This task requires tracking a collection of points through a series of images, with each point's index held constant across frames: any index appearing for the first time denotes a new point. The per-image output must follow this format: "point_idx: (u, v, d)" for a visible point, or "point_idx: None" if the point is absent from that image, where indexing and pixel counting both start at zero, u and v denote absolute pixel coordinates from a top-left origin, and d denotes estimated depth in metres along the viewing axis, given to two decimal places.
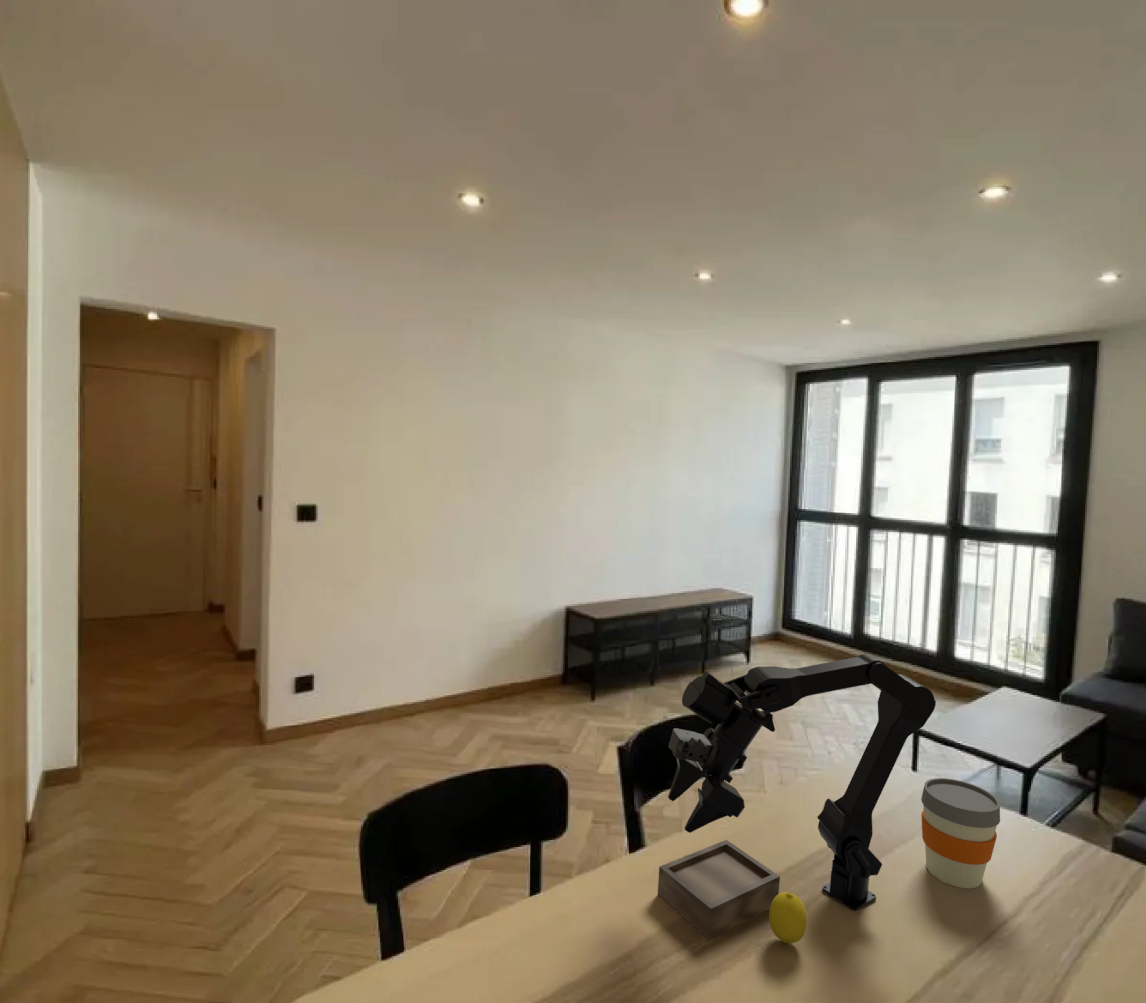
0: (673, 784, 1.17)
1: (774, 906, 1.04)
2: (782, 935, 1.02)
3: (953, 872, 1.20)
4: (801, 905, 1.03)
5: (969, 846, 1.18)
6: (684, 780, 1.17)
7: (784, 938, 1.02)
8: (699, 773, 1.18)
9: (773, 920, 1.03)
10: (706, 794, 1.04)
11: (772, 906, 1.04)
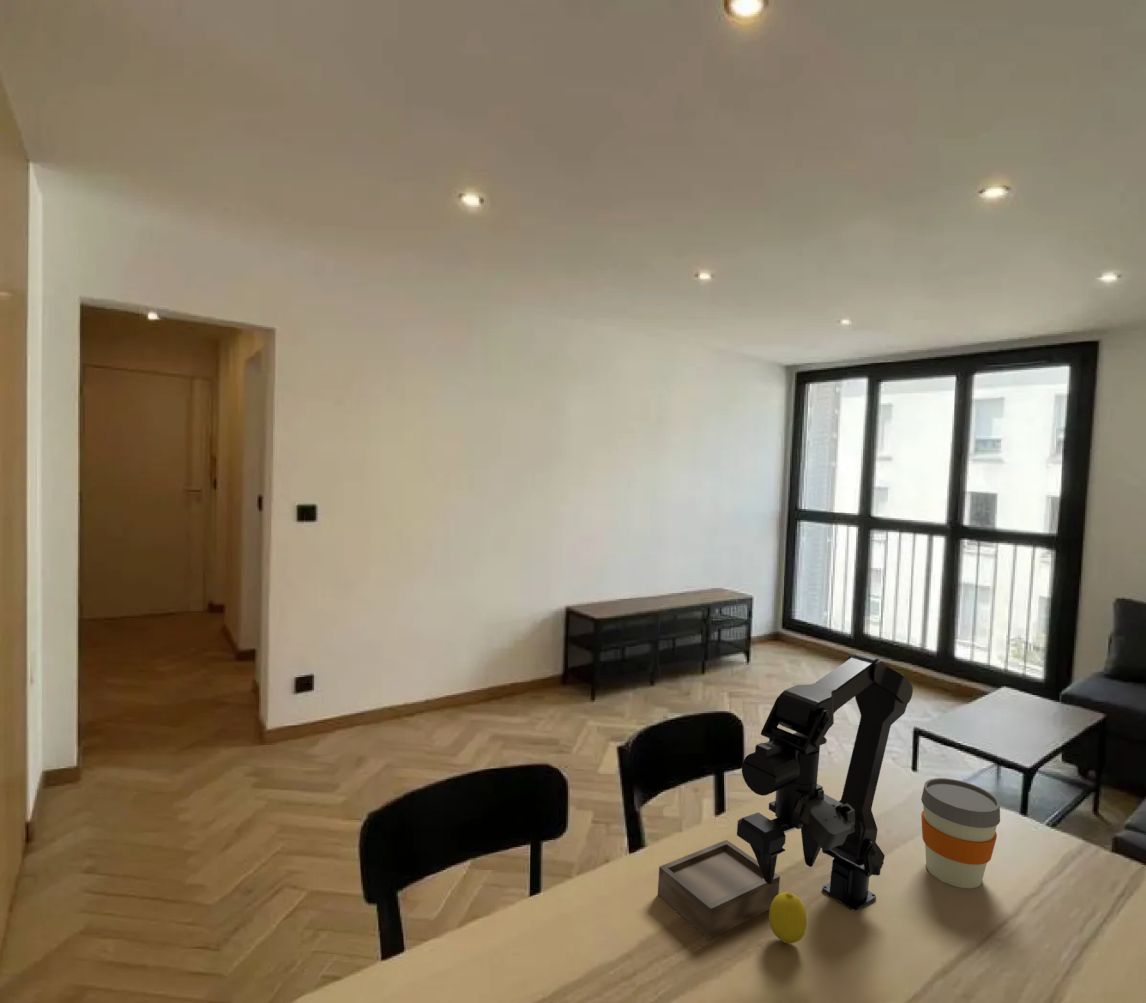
0: (773, 871, 1.00)
1: (774, 906, 1.04)
2: (782, 935, 1.02)
3: (953, 872, 1.20)
4: (801, 905, 1.03)
5: (969, 846, 1.18)
6: None
7: (784, 938, 1.02)
8: None
9: (773, 920, 1.03)
10: None
11: (772, 906, 1.04)
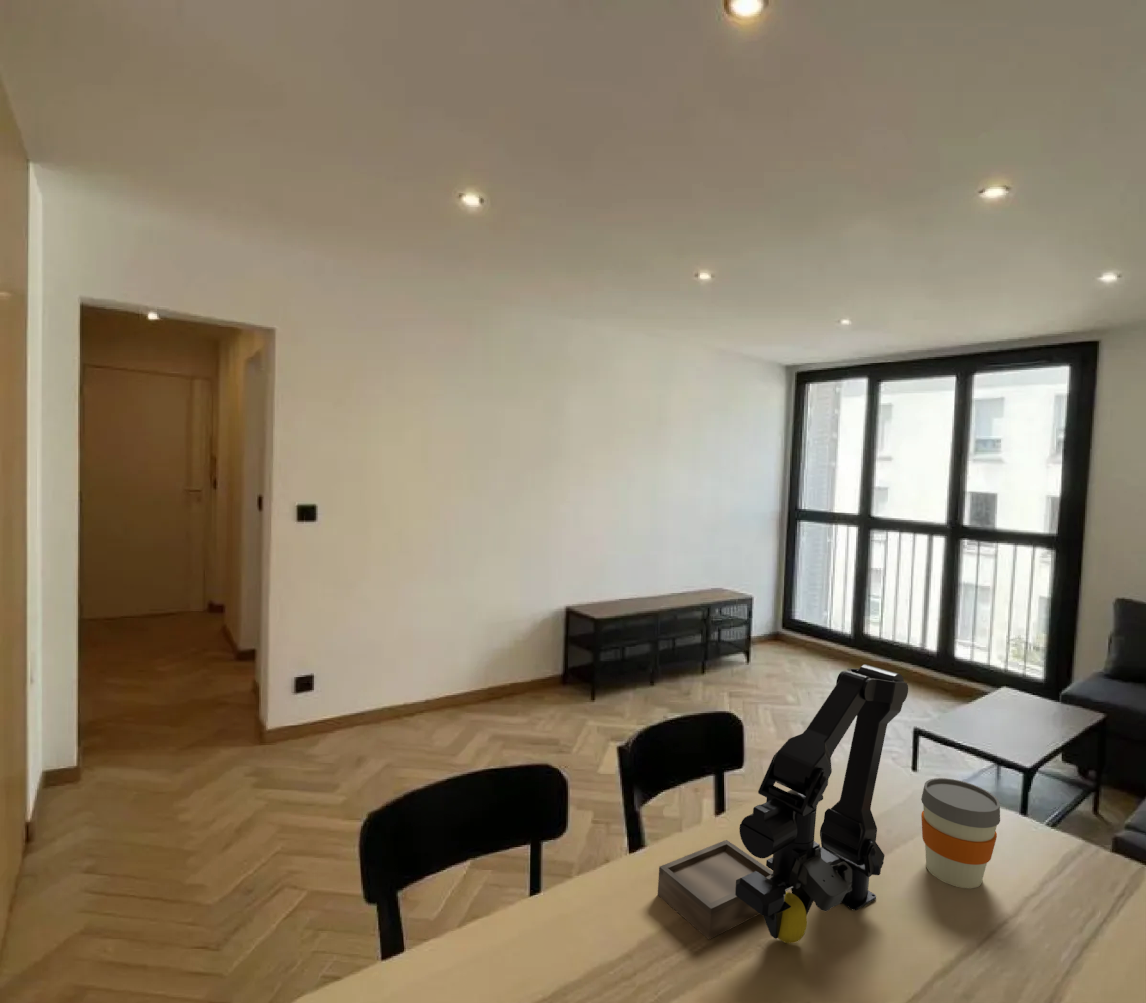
0: (779, 926, 1.02)
1: None
2: (782, 934, 1.02)
3: (953, 872, 1.20)
4: (801, 905, 1.03)
5: (969, 846, 1.18)
6: None
7: (784, 938, 1.02)
8: None
9: None
10: None
11: None
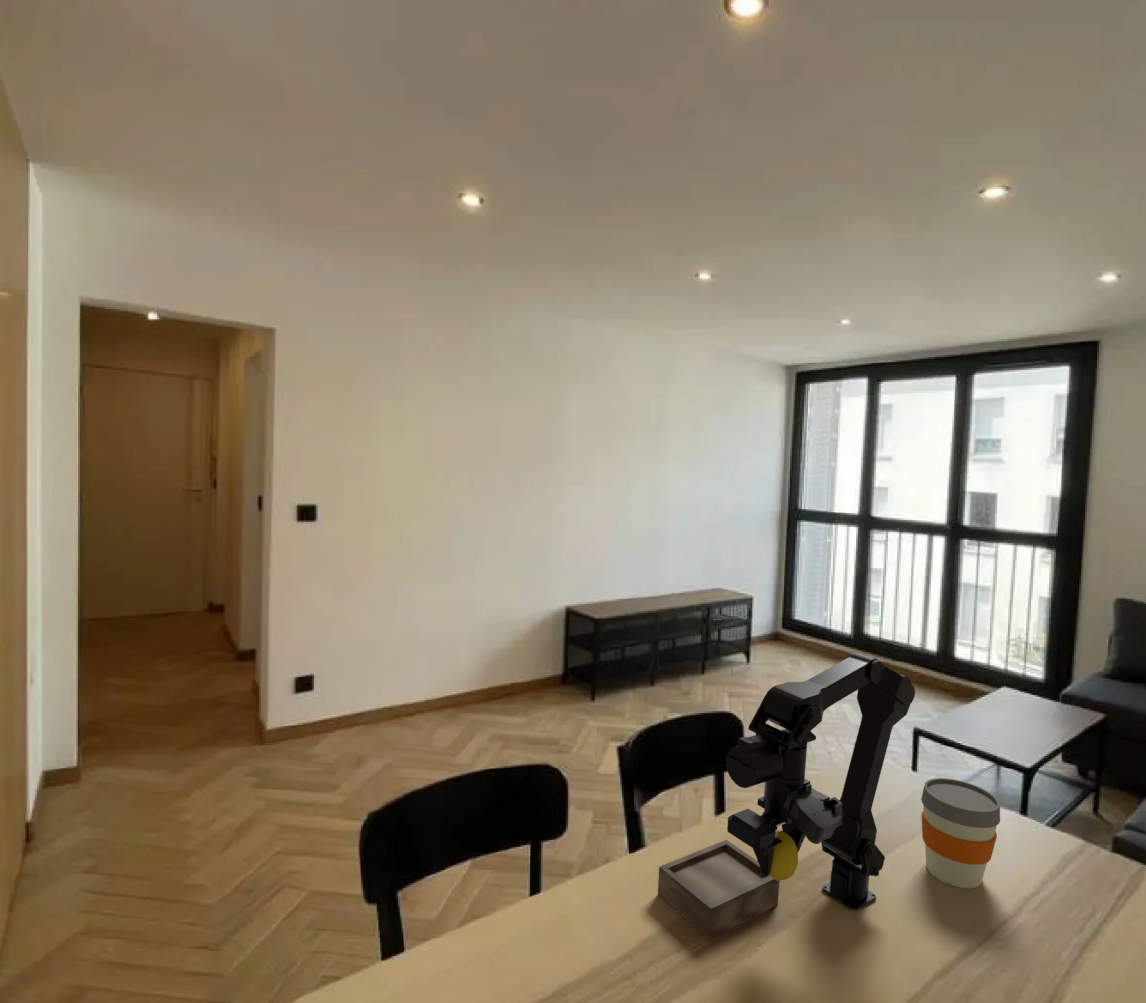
0: (770, 862, 1.02)
1: None
2: (774, 871, 1.03)
3: (953, 872, 1.20)
4: (792, 842, 1.04)
5: (969, 846, 1.18)
6: None
7: (775, 875, 1.03)
8: None
9: None
10: None
11: None
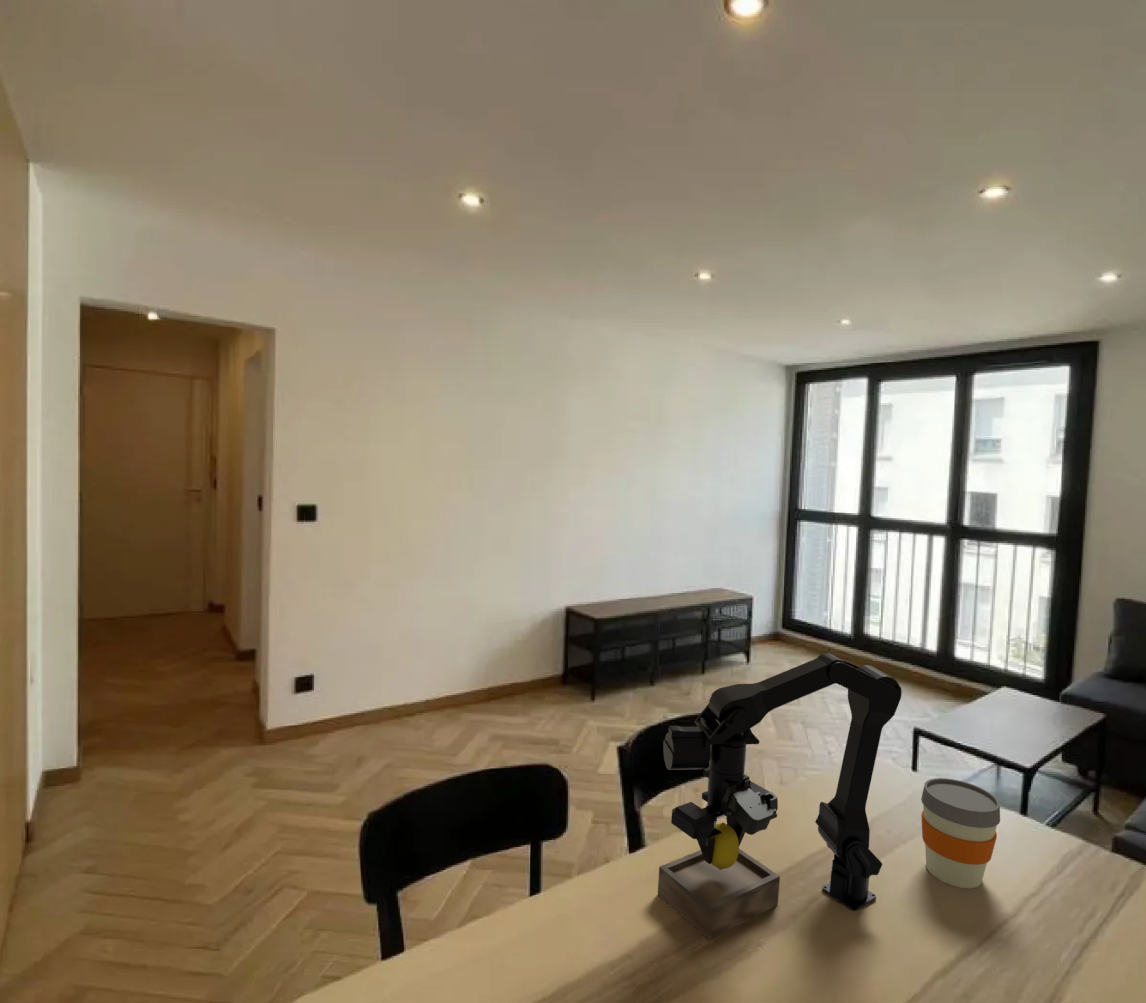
0: (712, 852, 1.10)
1: None
2: (715, 860, 1.11)
3: (953, 872, 1.20)
4: (733, 833, 1.12)
5: (969, 846, 1.18)
6: None
7: (717, 863, 1.11)
8: None
9: None
10: None
11: None
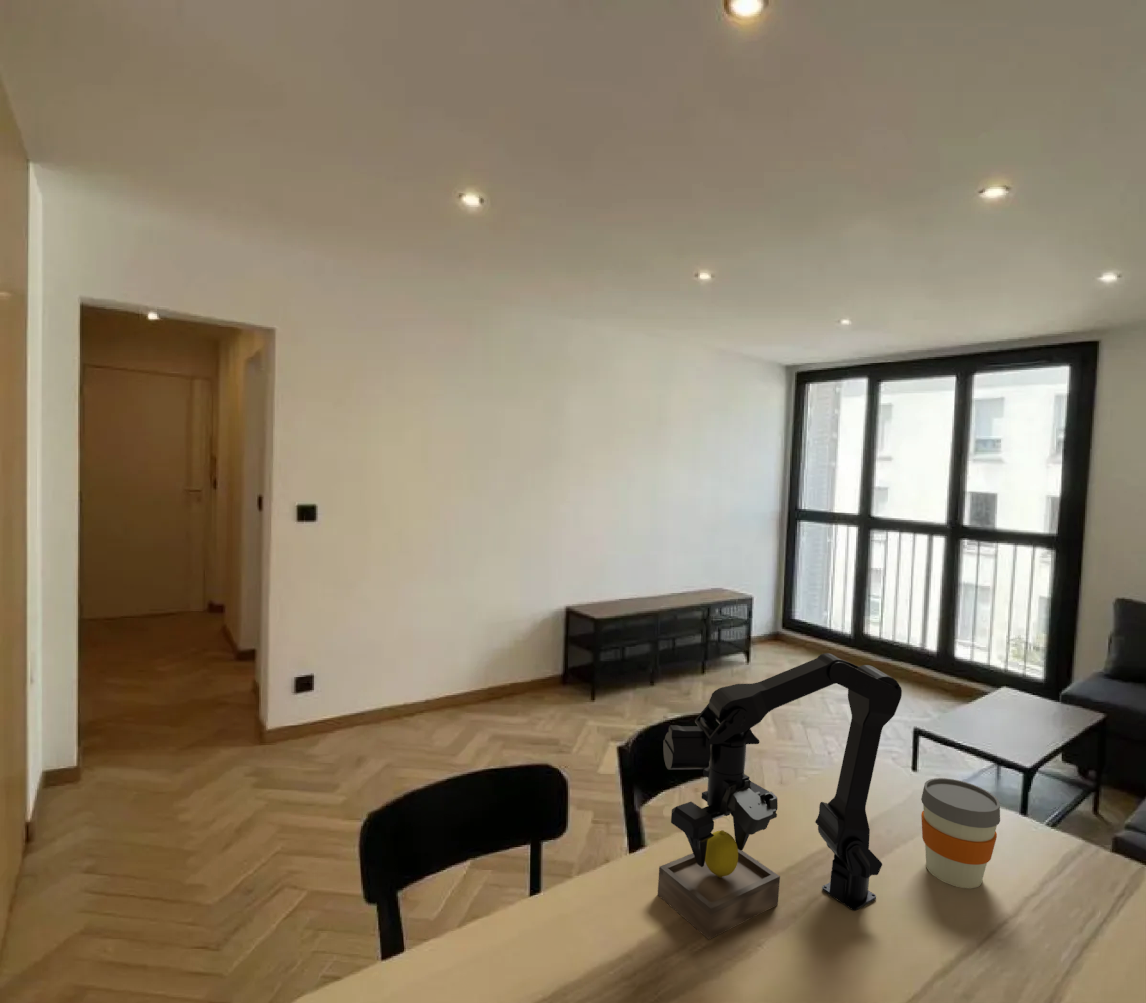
0: (704, 855, 1.09)
1: (708, 843, 1.13)
2: (714, 868, 1.11)
3: (953, 872, 1.20)
4: (732, 841, 1.12)
5: (969, 846, 1.18)
6: None
7: (716, 871, 1.11)
8: None
9: (707, 855, 1.12)
10: None
11: None
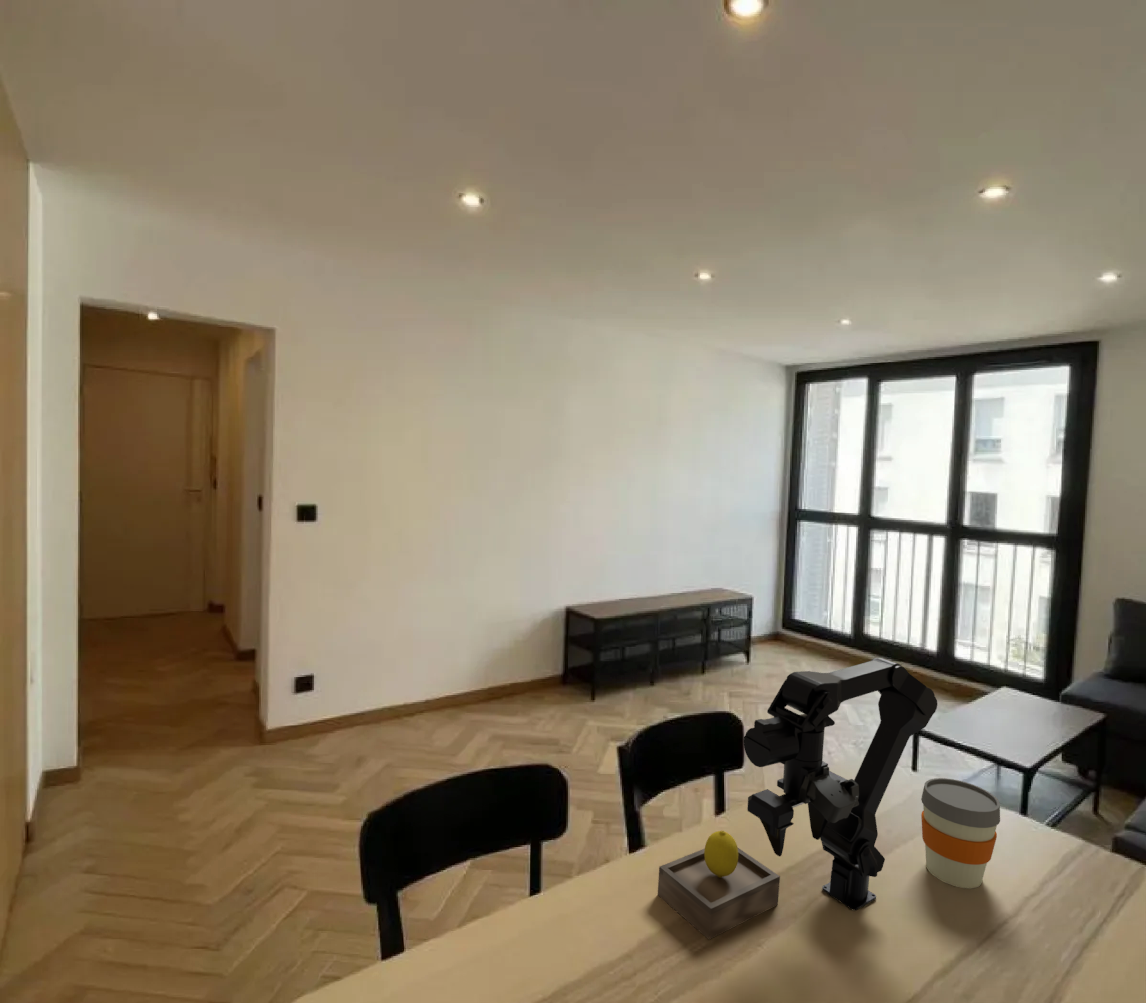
0: (782, 844, 1.06)
1: (708, 843, 1.13)
2: (714, 868, 1.11)
3: (953, 872, 1.20)
4: (733, 841, 1.12)
5: (969, 846, 1.18)
6: None
7: (716, 871, 1.11)
8: None
9: (707, 855, 1.12)
10: None
11: (707, 843, 1.13)
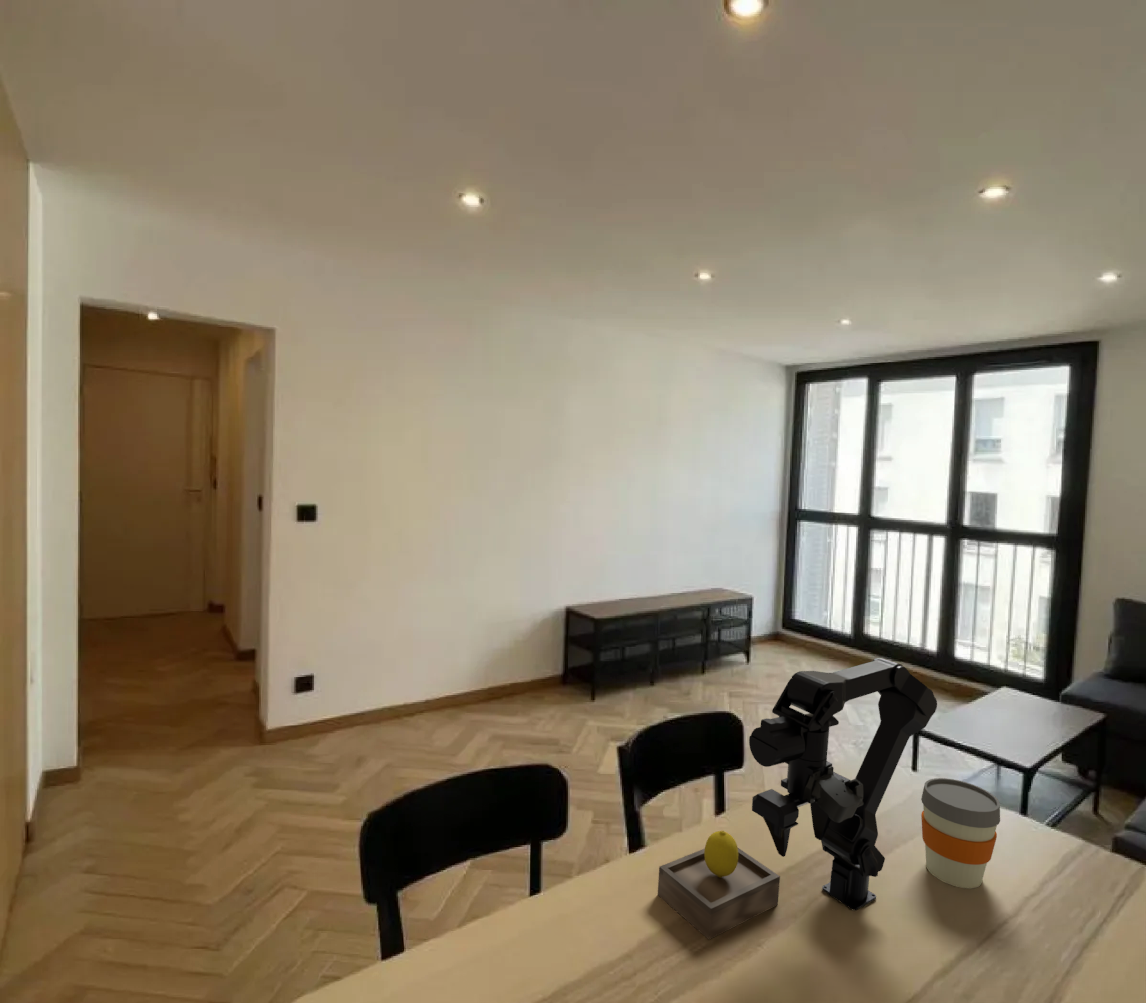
0: (786, 844, 1.06)
1: (708, 843, 1.13)
2: (714, 868, 1.11)
3: (953, 872, 1.20)
4: (733, 841, 1.12)
5: (969, 846, 1.18)
6: None
7: (716, 871, 1.11)
8: None
9: (707, 855, 1.12)
10: None
11: (707, 843, 1.13)
